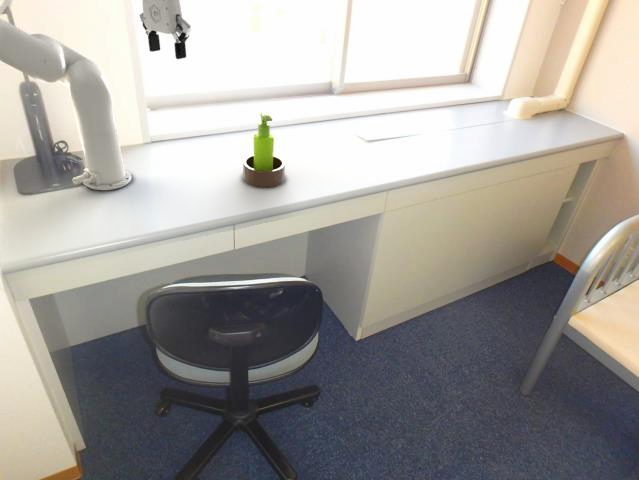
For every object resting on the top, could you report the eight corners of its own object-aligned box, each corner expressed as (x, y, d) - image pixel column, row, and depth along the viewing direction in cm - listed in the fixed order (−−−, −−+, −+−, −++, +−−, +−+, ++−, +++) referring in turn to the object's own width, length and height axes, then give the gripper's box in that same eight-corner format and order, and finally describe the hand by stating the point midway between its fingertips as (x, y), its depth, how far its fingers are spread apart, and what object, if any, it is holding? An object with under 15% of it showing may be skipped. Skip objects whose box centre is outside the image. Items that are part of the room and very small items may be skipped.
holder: (267, 192, 132) (268, 175, 129) (235, 179, 137) (234, 162, 133) (291, 177, 141) (292, 161, 138) (260, 165, 146) (260, 150, 142)
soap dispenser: (258, 183, 135) (259, 119, 123) (250, 173, 139) (251, 111, 128) (276, 180, 137) (279, 117, 126) (268, 170, 142) (269, 109, 130)
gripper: (123, -24, 109) (134, 50, 119) (174, -14, 103) (180, 63, 112) (148, -24, 115) (156, 46, 125) (197, -15, 108) (201, 59, 118)
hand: (167, 54), depth 118 cm, fingers open, 9 cm apart
